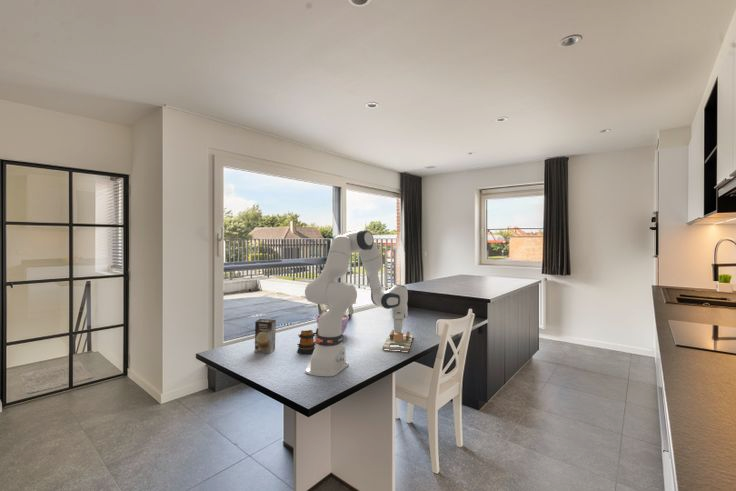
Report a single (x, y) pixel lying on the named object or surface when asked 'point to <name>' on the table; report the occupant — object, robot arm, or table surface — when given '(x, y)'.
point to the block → (398, 337)
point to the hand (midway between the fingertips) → (399, 336)
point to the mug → (307, 342)
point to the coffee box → (265, 335)
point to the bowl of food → (344, 321)
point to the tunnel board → (406, 342)
